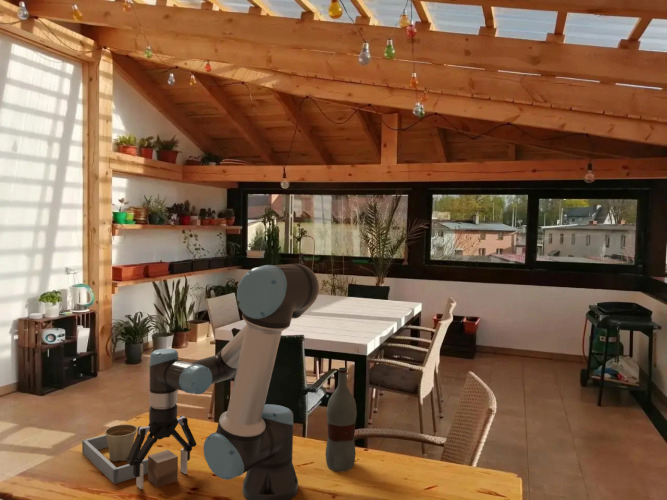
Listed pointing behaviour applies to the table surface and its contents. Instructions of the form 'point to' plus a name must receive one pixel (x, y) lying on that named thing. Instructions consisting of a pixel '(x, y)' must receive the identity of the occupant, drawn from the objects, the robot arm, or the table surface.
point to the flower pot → (120, 441)
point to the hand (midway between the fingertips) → (162, 479)
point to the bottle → (341, 426)
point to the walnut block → (162, 468)
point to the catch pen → (103, 464)
